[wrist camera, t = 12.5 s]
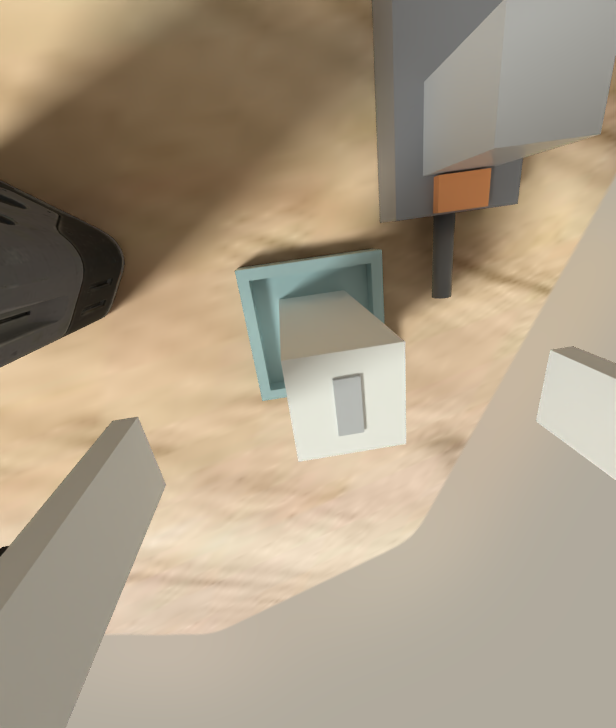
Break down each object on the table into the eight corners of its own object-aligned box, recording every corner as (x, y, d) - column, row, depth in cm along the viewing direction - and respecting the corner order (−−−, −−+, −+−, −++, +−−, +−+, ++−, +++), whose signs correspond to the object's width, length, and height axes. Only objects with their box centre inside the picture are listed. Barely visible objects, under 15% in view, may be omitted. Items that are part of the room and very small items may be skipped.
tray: (238, 267, 21) (234, 270, 19) (373, 248, 21) (381, 249, 19) (263, 389, 24) (262, 401, 22) (379, 371, 24) (386, 381, 23)
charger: (278, 299, 21) (280, 362, 11) (343, 290, 21) (406, 342, 11) (288, 360, 23) (298, 464, 12) (348, 350, 23) (407, 446, 13)
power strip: (363, -240, 13) (503, -1011, 5) (522, -255, 14) (905, -1012, 5) (382, 299, 22) (445, 338, 14) (478, 285, 23) (596, 315, 14)
